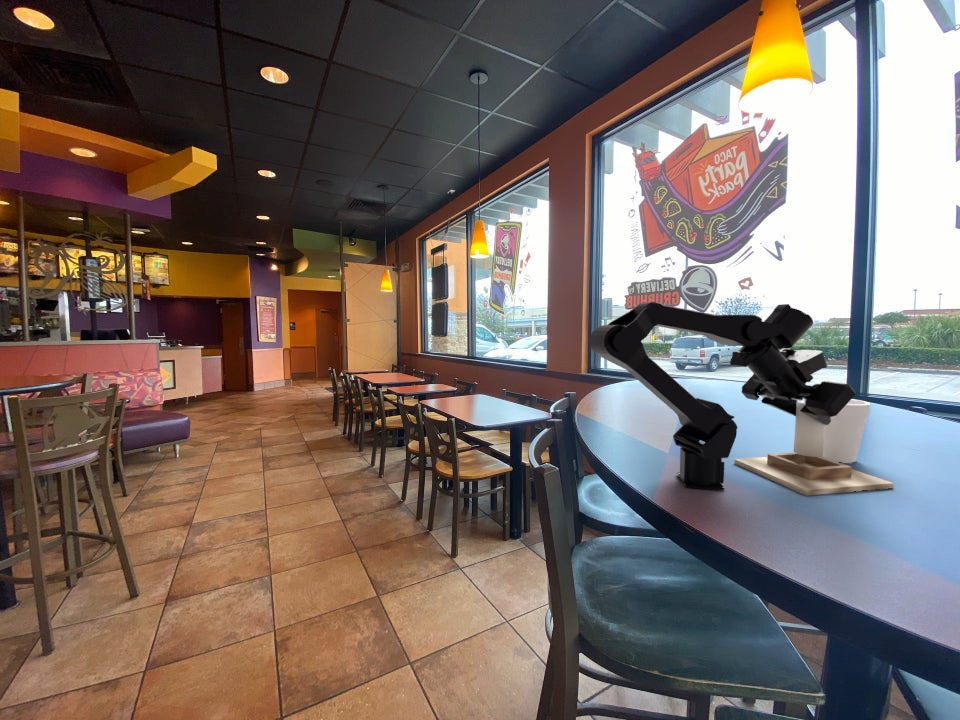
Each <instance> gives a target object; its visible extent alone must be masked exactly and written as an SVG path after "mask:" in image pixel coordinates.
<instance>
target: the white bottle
mask: <svg viewBox="0 0 960 720" xmlns="http://www.w3.org/2000/svg"><path fill="white" fill-rule="evenodd" d="M805 402H806V401H805V400H804V401H802V400H801V401H799V400H798V402H797V405H796V416H795V421H794V422H795V425H794V437H793V439H794V441H793V452H795V453H797V454H800V455H804V456H810V457H822V456H823V444H824V430H825V424H823V423H821V422H819V421H817V420H815V419H813V418H811V417H810V416H808V415H806V414H804V413H802V412H800V410H801V409H802V408H803V407H804V406H805V405H806V403H805Z"/></svg>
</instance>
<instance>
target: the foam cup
mask: <svg viewBox="0 0 960 720" xmlns="http://www.w3.org/2000/svg"><path fill="white" fill-rule="evenodd" d="M870 412H871V402H867V401H865V400H861V399H854V398H852V399H851V400H850V401H849V402H848V403H847V404H846V406H845V407H844V408H843V409H842V410H841V411H840V412H839V413H838V414H837V415H836V416H833V417H830V418H831V422H830V423H829V424H828V425H825V430H824V444H823V456H822V457H823V458H826V459H829V460H832V461H835V462H838V463H839V462H842V463H841V464H852V463H851V462H855V463H856V462H857V461H856V460H857V458H858V455H859V450H860V446H861V443H862V440H863V439H862V438H863V435H864V431H865V427H866V424H867V419H868V417H869V416H870V414H871V413H870Z"/></svg>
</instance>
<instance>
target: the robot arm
mask: <svg viewBox="0 0 960 720" xmlns="http://www.w3.org/2000/svg"><path fill="white" fill-rule="evenodd" d="M762 320H763V318H762V317H760V316H759V315H756V314H713V313H708V312H702V311H697V310H693V309H688V308H681V307H677V306H672V305H666V304H662V303H660V302H658V301H650V302H649V301H648V302H641V303H639V304H637V305H636V306H635V307H633V308H632V309H630V310H629V311H628V312H626V313H625V314H623V315H621V316H619V317H617V318H615V319H613V320H612V321H611V322H609V323H608V324H604V325H599V326H597V327H596V328H595V329H594V330H593V331H592V332H591V334H590V337H589V347H590V349H591V350H592V351H593V353H594V354H596V355H598V356H599V357H601V358H603V359H604V360H606V361H608V362H610V363H612V364H615V366H618V367H620V368H622V369H624V370H626V371H627V372H628V373H629V374H631V376H633V377H634V378H635V379H636V380H637V381H638V382H639V383H641V384H642V385H643V386H644V387H645V388H646V389H648V390H649V391H650V392H651V393H652V394H653V395H655V397H656V398H658V399H659V400H660V401H662V403H664V404H665V405H666V406H668V408H669V409H670V410H672V411H673V412H674V413H675V414H676V415H677V417H678V420H679V424H681V426H680V428H678V430H677V431H675V433H674V434H673V435H672V438H673V442H674V444H675V445H676V446H677V447H680V448H679V449H680V451H679V453H680V454H679V455H680V456H679V472H676V475H677V474H678V473H680V474H678V476H679V477H680V479H681V480H682V481H681V480H680V479H679V480H680V481H681V482H683V483H684V484H685V485H684V484H683V483H682V484H683V485H684V487H685V486H687V487H686V488H688V487H691V488H690V489H700V490H701V489H703V490H714V491H715V490H716V491H724V490H725V486H724V485H723V484H724V483H725V482H724V481H725V461H723V460H722V459H727V458H729V457H730V454H731V451H732V448H733V447H734V443H735V441H736V438H737V432H738V431H737V430H738V426H737V423H736V422H735V420H733V419H735V415H731V414H729V413H728V412H727V411H726V410H725V408H724V407H723V406H722V405H721V404H719V403H717V402H713V401H709V400H705V399H702V398H699V397H694V396H693V395H692V394H691V393H690V392H689V391H687V389H685V388H684V387H683V386H682V385H681V384H680V383H679V382H678V381H677V380H675V378H674V377H672V376H671V375H670V374H668V373H667V372H666V371H665V370H664V369H663V368H662V367H661V366H660V365H659V364H658V363H656V362H655V361H654V360H653V359H652V358H650V357H649V355H648V354H647V352H646V350H645V347H644V344H643V342H642V341H644V339H646V338H647V337H648V335H649V334H650V333H651V332H652V330H653V329H654V328H655V327H658V328H659V327H660V328H665V329H670V330H677V331H681V332H687V333H692V334H697V335H698V334H699V335H701V336H704V337H706V338H707V339H708V340H710V341H713V342H716V343H718V344H720V345H724V346H735V347H736V346H738V347H740V349H739V350H738V351H732V353H731V354H732V355H731V359H730V363H729V364H730V366H736V367H743V368H748V369H749V370H750V371H751V372H752V373H753V374H752V375H751V376H750V378H749V379H748V380H747V381H746V382H744V384H743V385H742V386H741V394H742V395H743V396H744V397H745V398H746V399H747V400H748V399H749V400H753V401H758V400H759V399H760V397H762V399H761V400H760V401H761V403H762V404H764V405H767V406H770V407H773V408H775V409H778V410H779V411H782V412H785V413H787V414H790V415H792V416H794V417H796V405H797V402H799V401H802V400H804V401H806V402H805V403H806V405H805V406H804V407H803V408H802V409H801V410H800V412H802V413H804V414H806V415H808V416H810V417H811V418H813V419H815V420H817V421H819V422H821V423H823V424H825V425H828V424H829V423H830V422H831V418H830V417H833V416H836V415H837V414H838V413H839V412H840V411H841V410H842V409H843V408H844V407H845V406H846V404H847V403H848V402H849V401H850V400H851V399H854V397H855V396H856V395H857V393H856V391H855V390H854V389H853V388H852V387H853V386H851V385H850V384H849V383H845V382H844V383H843V382H838V381H837V382H836V381H825V380H824V381H821V382H820V383H816V384H813V385H807V383H810V382H811V381H812V380H813V379H814V377H813V374H814V373H817V372H819V371H820V370H822V369H823V370H824V369H826V368H827V367H828V364H827V361H826V358H825V355H824V353H823V351H822V350H818V349H801V350H798V349H795V350H794V349H792V347H794V345H795V344H796V343H798V341H799V340H800V339H801V338H802V337H803V336H804V335H805V333H807V331H809V330H810V328H811V327H812V326H813V325H814V319H813V318H812V316H810V314H808V313H807V314H806V313H805V312H804V311H802V310H800V309H798V308H793V307H792V306H791V305H790V304H789V303H787V304H786V303H784V304H778V305H777V306H776V307H775V308H774V309H773V310H772V312H771V314H770V315H769V316H767V318H766V319H764V321H762ZM700 441H701V442H700ZM678 476H677V477H678ZM679 477H678V478H679Z"/></svg>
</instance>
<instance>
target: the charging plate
mask: <svg viewBox="0 0 960 720" xmlns="http://www.w3.org/2000/svg"><path fill="white" fill-rule="evenodd" d="M734 465H737V466H738V467H742V468H744V469H746V470H748V471H751V472H753V473H755V474H757V475H759V476H761V477H764V478H765V479H768V480H771V481H772V482H775V483H777V484H780V485H782V486H784V487H786V488H789V489H790V490H793V491H795V492H798V493H800V494H802V495H804V496H816V495H817V496H818V495H829V494H841V493H842V494H844V493H852V492H853V493H854V491H856V492H863V491H862V490H868V491H876V490H875V489H880V490H889V489H888V488H892V489H894V486H895V485H894V482H893V481H892V482H891V481H889V480H886V479H884V478H883V479H882V478H879V477H877V476H874V475H871V474H868V473H864V472H862V471H858V470H855V469H853V468H852V467H853V466H850V465H847V464H845V463H839V462H835V461H832V460H829V459H826V458H823V457H810V456H804V455H800V454H797V453H795V452H794V451H793V452H782V453H781V452H780V453H767V456H762V457H759V456H758V457H745V458H744V457H743V458H734Z"/></svg>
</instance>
